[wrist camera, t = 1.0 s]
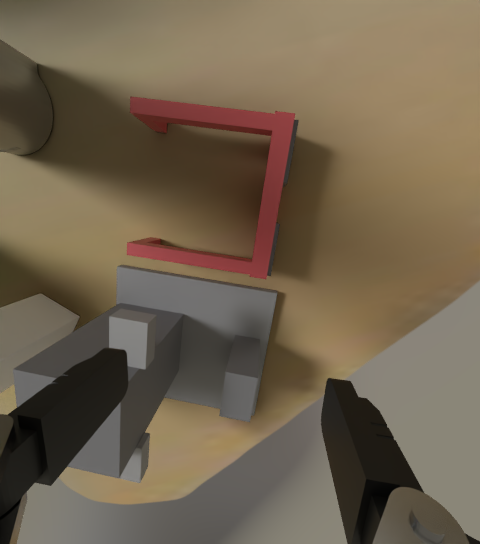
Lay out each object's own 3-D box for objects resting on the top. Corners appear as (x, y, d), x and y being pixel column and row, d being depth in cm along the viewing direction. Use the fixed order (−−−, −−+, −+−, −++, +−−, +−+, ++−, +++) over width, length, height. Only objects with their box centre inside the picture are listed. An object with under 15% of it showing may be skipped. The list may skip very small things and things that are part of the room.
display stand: (276, 290, 28) (286, 362, 15) (254, 409, 32) (246, 550, 19) (121, 264, 29) (-1, 309, 16) (119, 382, 34) (21, 496, 20)
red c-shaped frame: (293, 133, 24) (300, 114, 19) (269, 268, 28) (270, 279, 23) (156, 116, 25) (130, 93, 20) (150, 249, 29) (126, 256, 24)
